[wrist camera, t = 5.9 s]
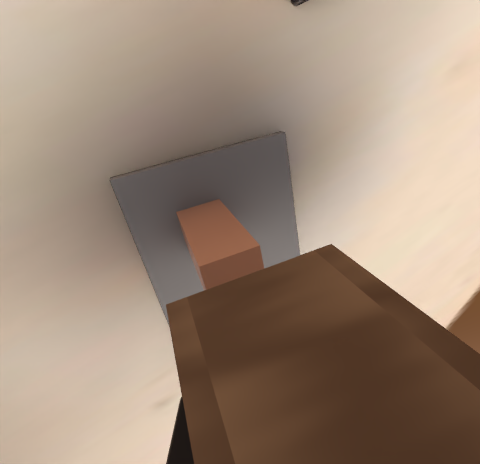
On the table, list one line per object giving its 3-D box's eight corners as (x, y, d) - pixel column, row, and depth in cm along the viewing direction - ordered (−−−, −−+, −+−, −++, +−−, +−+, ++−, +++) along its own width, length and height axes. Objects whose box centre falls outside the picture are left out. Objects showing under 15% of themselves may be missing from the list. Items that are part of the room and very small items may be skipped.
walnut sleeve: (210, 416, 11) (303, 779, 5) (166, 304, 8) (246, 756, 3) (338, 358, 12) (534, 606, 6) (331, 244, 9) (643, 476, 4)
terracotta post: (186, 246, 19) (214, 316, 13) (174, 208, 18) (198, 266, 12) (225, 233, 20) (269, 294, 14) (216, 195, 19) (259, 245, 12)
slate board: (219, 445, 28) (221, 452, 28) (110, 177, 16) (109, 180, 16) (315, 400, 30) (318, 405, 30) (280, 131, 18) (285, 132, 18)
